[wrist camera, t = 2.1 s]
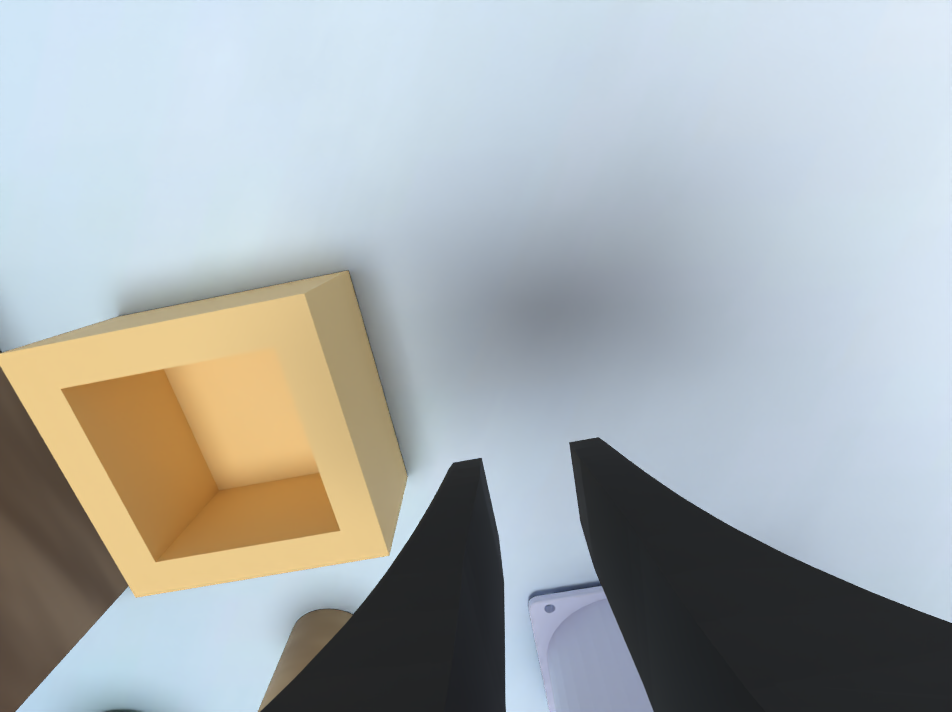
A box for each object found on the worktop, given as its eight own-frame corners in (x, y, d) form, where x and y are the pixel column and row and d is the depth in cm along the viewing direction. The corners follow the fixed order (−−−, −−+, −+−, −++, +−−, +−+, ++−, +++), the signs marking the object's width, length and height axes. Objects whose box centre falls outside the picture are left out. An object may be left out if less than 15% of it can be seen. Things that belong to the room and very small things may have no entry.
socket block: (348, 270, 16) (303, 293, 12) (407, 476, 19) (389, 555, 15) (117, 316, 16) (-6, 355, 12) (209, 511, 19) (135, 597, 15)
